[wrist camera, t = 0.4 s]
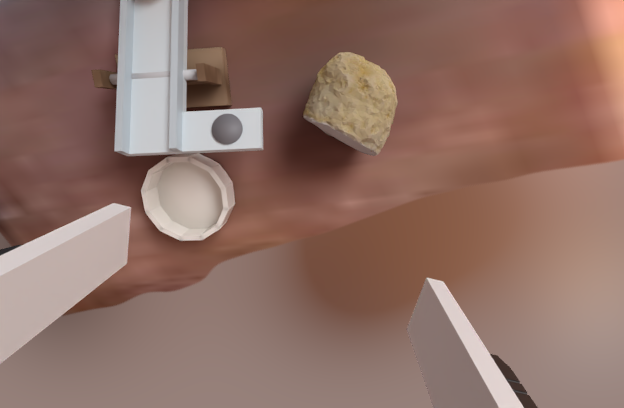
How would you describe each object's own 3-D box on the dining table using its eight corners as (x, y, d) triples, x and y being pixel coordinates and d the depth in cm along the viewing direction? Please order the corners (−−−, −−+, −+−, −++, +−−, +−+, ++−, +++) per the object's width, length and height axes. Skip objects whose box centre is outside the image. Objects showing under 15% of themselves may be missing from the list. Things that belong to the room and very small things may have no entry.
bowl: (148, 155, 41) (134, 158, 38) (229, 151, 40) (222, 154, 37) (162, 233, 44) (150, 241, 41) (239, 230, 43) (232, 239, 40)
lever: (120, -25, 36) (101, -48, 33) (261, -36, 35) (254, -61, 32) (112, 157, 34) (92, 149, 31) (263, 150, 33) (256, 141, 30)
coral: (273, 143, 33) (318, 49, 27) (307, 110, 41) (348, 32, 35) (353, 195, 33) (416, 114, 27) (372, 152, 41) (424, 82, 35)
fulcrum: (122, 56, 38) (82, 45, 32) (225, 49, 37) (204, 37, 31) (133, 110, 40) (96, 110, 33) (231, 105, 39) (213, 104, 33)
